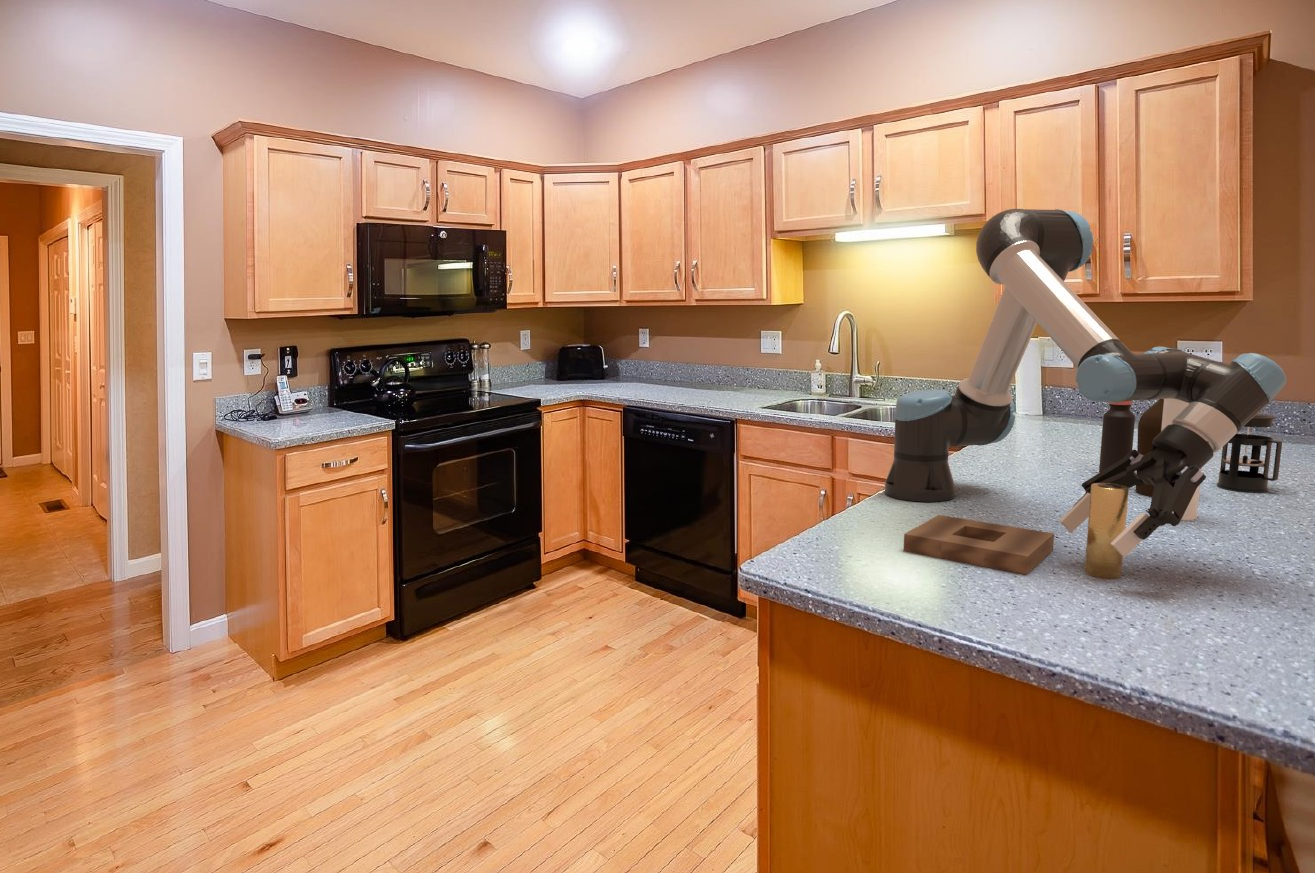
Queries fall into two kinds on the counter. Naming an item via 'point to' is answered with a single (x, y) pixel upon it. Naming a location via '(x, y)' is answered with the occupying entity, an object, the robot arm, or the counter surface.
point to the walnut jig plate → (980, 543)
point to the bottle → (1116, 433)
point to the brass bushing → (1105, 529)
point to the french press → (1249, 460)
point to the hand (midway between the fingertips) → (1089, 537)
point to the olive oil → (1149, 436)
